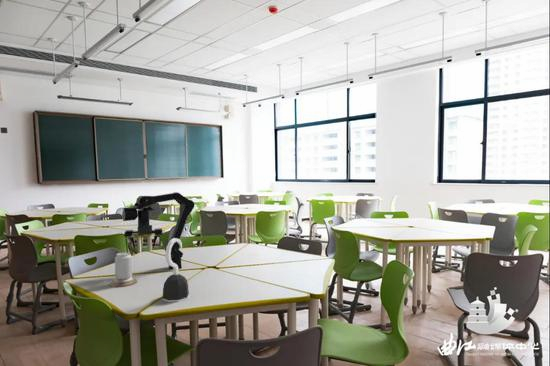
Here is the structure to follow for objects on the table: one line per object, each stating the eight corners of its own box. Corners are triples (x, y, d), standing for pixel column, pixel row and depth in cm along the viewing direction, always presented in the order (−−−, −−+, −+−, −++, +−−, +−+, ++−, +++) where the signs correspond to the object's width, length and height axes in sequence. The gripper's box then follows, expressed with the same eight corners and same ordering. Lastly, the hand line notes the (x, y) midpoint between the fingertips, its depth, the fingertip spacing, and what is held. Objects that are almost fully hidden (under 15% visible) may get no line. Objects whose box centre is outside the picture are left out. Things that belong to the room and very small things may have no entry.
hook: (172, 292, 155) (170, 235, 154) (194, 294, 152) (193, 236, 151) (156, 300, 144) (154, 240, 144) (179, 303, 141) (178, 241, 140)
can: (112, 280, 165) (112, 255, 165) (118, 276, 173) (118, 251, 173) (128, 280, 166) (128, 254, 166) (134, 275, 173) (133, 251, 173)
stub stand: (137, 278, 177) (137, 273, 177) (136, 285, 165) (135, 280, 165) (111, 281, 173) (111, 276, 173) (108, 288, 162) (107, 283, 162)
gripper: (123, 222, 176) (123, 253, 176) (162, 220, 182) (162, 250, 182) (125, 219, 187) (125, 248, 187) (162, 217, 193) (162, 246, 193)
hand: (144, 248), depth 187 cm, fingers open, 9 cm apart
